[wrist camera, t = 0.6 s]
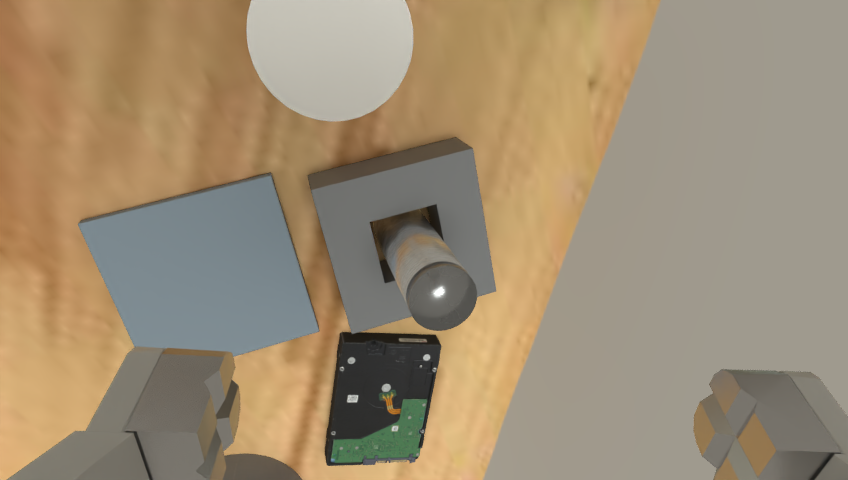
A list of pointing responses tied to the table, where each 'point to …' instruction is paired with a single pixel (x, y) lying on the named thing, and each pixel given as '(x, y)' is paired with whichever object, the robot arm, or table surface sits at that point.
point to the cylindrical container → (330, 53)
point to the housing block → (391, 195)
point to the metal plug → (426, 271)
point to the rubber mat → (204, 269)
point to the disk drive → (381, 397)
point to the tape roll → (257, 468)
